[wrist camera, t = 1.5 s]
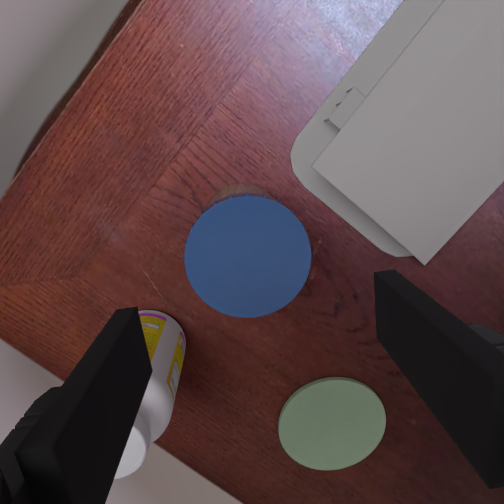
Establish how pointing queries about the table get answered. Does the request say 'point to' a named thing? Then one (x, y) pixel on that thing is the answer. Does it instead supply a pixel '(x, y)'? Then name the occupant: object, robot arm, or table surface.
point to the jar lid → (247, 255)
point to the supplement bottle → (155, 387)
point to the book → (413, 127)
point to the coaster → (331, 423)
